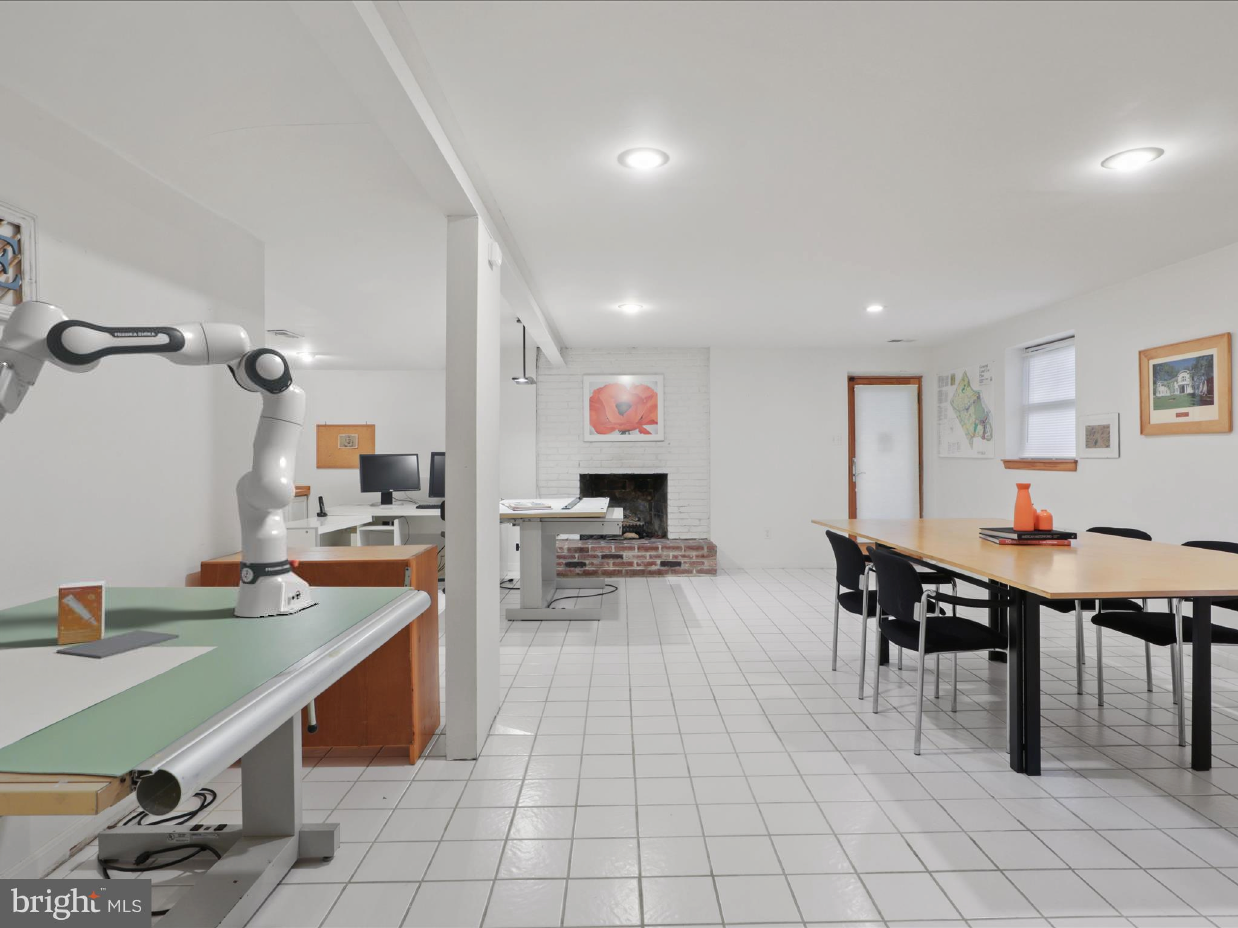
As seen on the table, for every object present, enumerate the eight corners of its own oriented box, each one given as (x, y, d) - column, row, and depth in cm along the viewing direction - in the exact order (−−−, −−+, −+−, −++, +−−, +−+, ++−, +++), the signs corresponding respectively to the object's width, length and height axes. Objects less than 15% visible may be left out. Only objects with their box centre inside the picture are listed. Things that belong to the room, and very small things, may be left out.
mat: (137, 632, 163) (137, 630, 163) (178, 636, 159) (178, 634, 159) (56, 652, 146) (56, 650, 146) (100, 658, 142) (101, 655, 142)
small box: (57, 645, 151) (57, 587, 151) (61, 639, 157) (61, 583, 156) (102, 640, 156) (103, 584, 156) (105, 634, 161) (105, 579, 161)
